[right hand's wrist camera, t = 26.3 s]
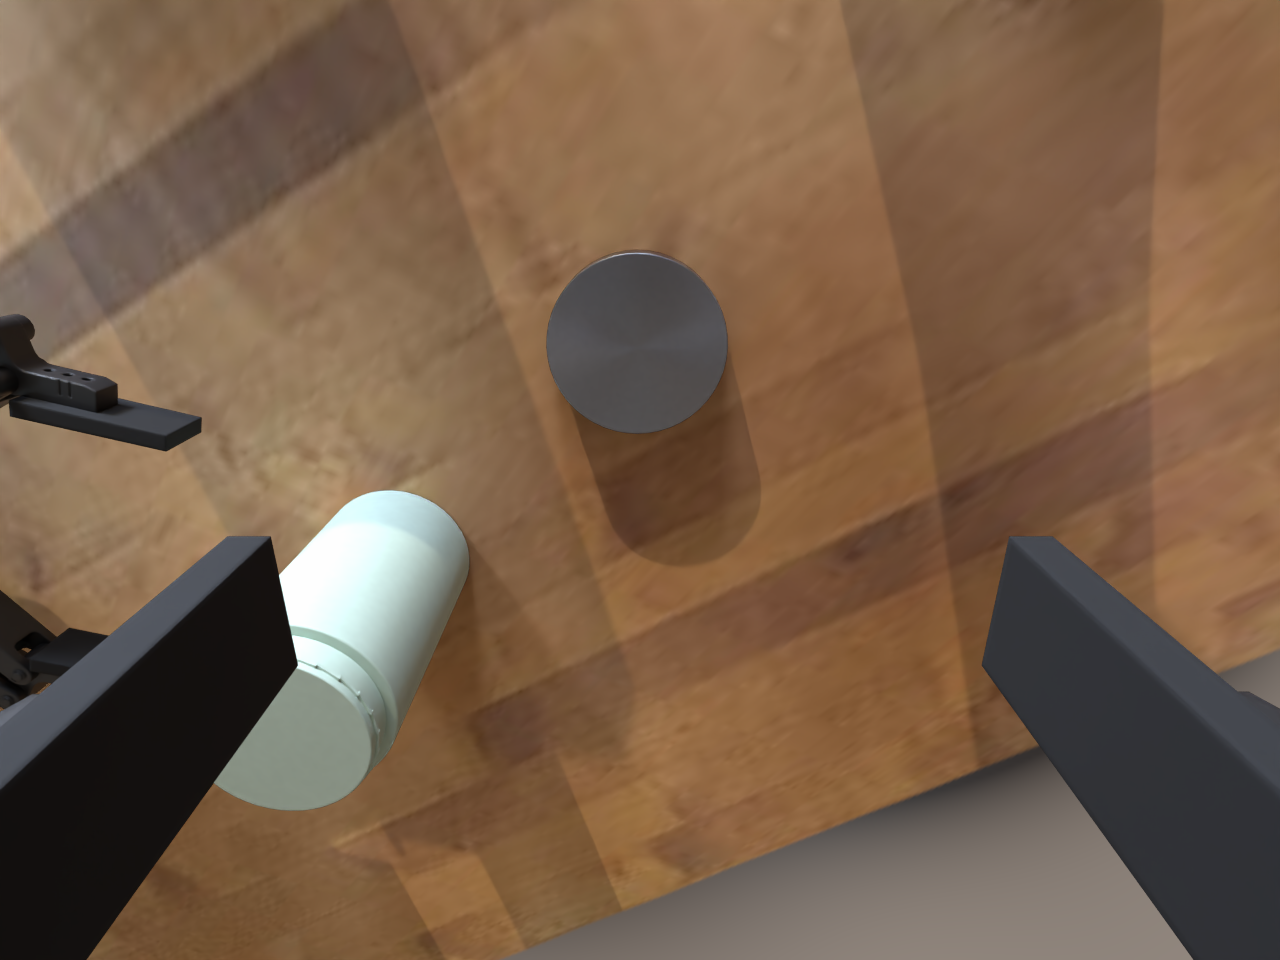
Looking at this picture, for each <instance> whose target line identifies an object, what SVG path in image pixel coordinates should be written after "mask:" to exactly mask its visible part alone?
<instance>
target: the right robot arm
mask: <svg viewBox="0 0 1280 960" xmlns="http://www.w3.org/2000/svg"><path fill="white" fill-rule="evenodd" d="M297 667H298V661H297V657H296V652H295V648H294V643H293V638H292V634H291V629H290V624H289V620H288V615H287V610H286V606H285V601H284V596H283V592H282V587H281V582H280V578H279V573H278V568H277V564H276V559H275V554H274V550H273V545H272V540H271V536H228V537H226V538H225V539H224V540H223V541H222V542H220V543H219V544H218V545H217V546H216V547H214V548H213V549H212V550H211V551H210V552H208V553H207V554H206V555H205V556H204V557H202V558H201V559H200V560H199V561H198V562H197V563H195V564H194V565H193V566H192V567H191V568H189V569H188V570H187V571H186V572H185V573H183V574H182V575H181V576H180V577H179V578H177V579H176V580H175V581H174V582H173V583H171V584H170V585H169V586H168V587H167V588H166V589H164V590H163V591H162V592H161V593H160V594H158V595H157V596H156V597H155V598H154V599H152V600H151V601H150V602H149V603H148V604H146V605H145V606H144V607H143V608H142V609H140V610H139V611H138V612H137V613H136V614H135V615H133V616H132V617H131V618H130V619H129V620H127V621H126V622H125V623H124V624H123V625H121V626H120V627H119V628H118V629H117V630H115V631H114V632H113V633H112V634H111V635H109V636H108V637H107V638H106V639H105V640H103V641H102V642H101V643H100V644H99V645H98V646H96V647H95V648H94V649H93V650H92V651H90V652H89V653H88V654H87V655H86V656H84V657H83V658H82V659H81V660H80V661H78V662H77V663H76V664H75V665H74V666H72V667H71V668H70V669H69V670H68V671H67V672H65V673H64V674H63V675H62V676H61V677H59V678H58V679H57V680H56V681H55V682H53V683H52V684H51V685H50V686H49V687H47V688H46V689H45V690H44V691H43V692H41V693H40V694H32V695H30V696H28V697H26V698H24V699H23V700H21V701H19V702H17V703H15V704H14V705H12V706H10V707H8V708H6V709H4V710H3V711H1V712H0V960H87V958H88V957H89V955H90V954H91V953H92V951H93V950H94V949H95V947H96V946H97V944H98V943H99V942H100V940H101V939H102V937H103V936H104V935H105V933H106V932H107V930H108V929H109V928H110V926H111V925H112V924H113V922H114V921H115V919H116V918H117V917H118V915H119V914H120V912H121V911H122V910H123V908H124V907H125V905H126V904H127V903H128V901H129V900H130V899H131V897H132V896H133V894H134V893H135V892H136V890H137V889H138V887H139V886H140V885H141V883H142V882H143V880H144V879H145V878H146V876H147V875H148V874H149V872H150V871H151V869H152V868H153V867H154V865H155V864H156V862H157V861H158V860H159V858H160V857H161V855H162V854H163V853H164V851H165V850H166V849H167V847H168V846H169V844H170V843H171V842H172V840H173V839H174V837H175V836H176V835H177V833H178V832H179V830H180V829H181V828H182V826H183V825H184V824H185V822H186V821H187V819H188V818H189V817H190V815H191V814H192V812H193V811H194V810H195V808H196V807H197V805H198V804H199V803H200V801H201V800H202V798H203V797H204V796H205V794H206V793H207V792H208V790H209V789H210V787H211V786H212V785H213V783H214V782H215V780H216V779H217V778H218V776H219V775H220V773H221V772H222V771H223V769H224V768H225V767H226V765H227V764H228V762H229V761H230V760H231V758H232V757H233V755H234V754H235V753H236V751H237V750H238V748H239V747H240V746H241V744H242V743H243V742H244V740H245V739H246V737H247V736H248V735H249V733H250V732H251V730H252V729H253V728H254V726H255V725H256V723H257V722H258V721H259V719H260V718H261V717H262V715H263V714H264V712H265V711H266V710H267V708H268V707H269V705H270V704H271V703H272V701H273V700H274V698H275V697H276V696H277V694H278V693H279V692H280V690H281V689H282V687H283V686H284V685H285V683H286V682H287V680H288V679H289V678H290V676H291V675H292V673H293V672H294V671H295V669H296V668H297ZM982 667H983V668H984V669H985V671H986V672H987V673H988V675H989V676H990V678H991V679H992V680H993V682H994V683H995V685H996V686H997V687H998V689H999V690H1000V692H1001V693H1002V694H1003V696H1004V697H1005V698H1006V700H1007V701H1008V703H1009V704H1010V705H1011V707H1012V708H1013V710H1014V711H1015V712H1016V714H1017V715H1018V717H1019V718H1020V719H1021V721H1022V722H1023V723H1024V725H1025V726H1026V728H1027V729H1028V730H1029V732H1030V733H1031V735H1032V736H1033V737H1034V739H1035V740H1036V742H1037V743H1038V744H1039V746H1040V747H1041V748H1042V750H1043V751H1044V753H1045V754H1046V755H1047V757H1048V758H1049V760H1050V761H1051V762H1052V764H1053V765H1054V767H1055V768H1056V769H1057V771H1058V772H1059V773H1060V775H1061V776H1062V778H1063V779H1064V780H1065V782H1066V783H1067V785H1068V786H1069V787H1070V789H1071V790H1072V792H1073V793H1074V794H1075V796H1076V797H1077V798H1078V800H1079V801H1080V803H1081V804H1082V805H1083V807H1084V808H1085V810H1086V811H1087V812H1088V814H1089V815H1090V817H1091V818H1092V819H1093V821H1094V822H1095V823H1096V825H1097V826H1098V828H1099V829H1100V830H1101V832H1102V833H1103V835H1104V836H1105V837H1106V839H1107V840H1108V842H1109V843H1110V844H1111V846H1112V847H1113V849H1114V850H1115V851H1116V853H1117V854H1118V855H1119V857H1120V858H1121V860H1122V861H1123V862H1124V864H1125V865H1126V867H1127V868H1128V869H1129V871H1130V872H1131V874H1132V875H1133V876H1134V878H1135V879H1136V880H1137V882H1138V883H1139V885H1140V886H1141V887H1142V889H1143V890H1144V892H1145V893H1146V894H1147V896H1148V897H1149V898H1150V900H1151V901H1152V903H1153V904H1154V905H1155V907H1156V908H1157V910H1158V911H1159V912H1160V914H1161V915H1162V917H1163V918H1164V919H1165V921H1166V922H1167V924H1168V925H1169V926H1170V928H1171V929H1172V930H1173V932H1174V933H1175V935H1176V936H1177V937H1178V939H1179V940H1180V942H1181V943H1182V944H1183V946H1184V947H1185V948H1186V950H1187V951H1188V953H1189V954H1190V955H1191V957H1192V958H1193V960H1280V709H1279V708H1278V707H1276V706H1274V705H1272V704H1270V703H1268V702H1267V701H1265V700H1263V699H1261V698H1259V697H1257V696H1255V695H1254V694H1252V693H1250V692H1237V691H1236V690H1235V689H1234V688H1233V687H1231V686H1230V685H1229V684H1228V683H1227V682H1225V681H1224V680H1223V679H1222V678H1221V677H1219V676H1218V675H1217V674H1216V673H1215V672H1213V671H1212V670H1211V669H1210V668H1209V667H1208V666H1206V665H1205V664H1204V663H1203V662H1202V661H1200V660H1199V659H1198V658H1197V657H1196V656H1194V655H1193V654H1192V653H1191V652H1190V651H1188V650H1187V649H1186V648H1185V647H1184V646H1182V645H1181V644H1180V643H1179V642H1178V641H1177V640H1175V639H1174V638H1173V637H1172V636H1171V635H1169V634H1168V633H1167V632H1166V631H1165V630H1163V629H1162V628H1161V627H1160V626H1159V625H1157V624H1156V623H1155V622H1154V621H1153V620H1151V619H1150V618H1149V617H1148V616H1147V615H1145V614H1144V613H1143V612H1142V611H1141V610H1140V609H1138V608H1137V607H1136V606H1135V605H1134V604H1132V603H1131V602H1130V601H1129V600H1128V599H1126V598H1125V597H1124V596H1123V595H1122V594H1120V593H1119V592H1118V591H1117V590H1116V589H1114V588H1113V587H1112V586H1111V585H1110V584H1109V583H1107V582H1106V581H1105V580H1104V579H1103V578H1101V577H1100V576H1099V575H1098V574H1097V573H1095V572H1094V571H1093V570H1092V569H1091V568H1089V567H1088V566H1087V565H1086V564H1085V563H1083V562H1082V561H1081V560H1080V559H1079V558H1078V557H1076V556H1075V555H1074V554H1073V553H1072V552H1070V551H1069V550H1068V549H1067V548H1066V547H1064V546H1063V545H1062V544H1061V543H1060V542H1058V541H1057V540H1056V539H1055V538H1054V537H1052V536H1009V540H1008V545H1007V550H1006V554H1005V559H1004V564H1003V568H1002V573H1001V578H1000V582H999V587H998V592H997V596H996V601H995V606H994V610H993V615H992V620H991V624H990V629H989V634H988V638H987V643H986V648H985V652H984V657H983V661H982Z"/></svg>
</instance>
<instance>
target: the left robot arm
mask: <svg viewBox="0 0 1280 960" xmlns="http://www.w3.org/2000/svg"><path fill="white" fill-rule="evenodd" d="M34 334H35V329H34V326H33V324H32V323H31V321H30V320H29V319H28V318H26V317H25V316H23V315H20V314H13V315H7V316H2V317H0V408H1V407H3V406H5V405H7V404H8V403H9V409H10V416H11V417H15V418H19V419H24V420H28V421H33V422H37V423H42V424H46V425H51V426H55V427H59V428H64V429H68V430H73V431H77V432H82V433H86V434H91V435H95V436H100V437H104V438H108V439H113V440H117V441H122V442H126V443H131V444H135V445H140V446H144V447H148V448H153V449H157V450H162V451H168V450H170V449H172V448H173V447H175V446H177V445H179V444H181V443H183V442H184V441H186V440H188V439H190V438H192V437H193V436H195V435H197V434H199V433H201V422H202V417H198V416H193V415H189V414H185V413H180V412H176V411H172V410H167V409H163V408H158V407H154V406H150V405H145V404H141V403H137V402H132V401H128V400H124V399H119V398H118V385H117V384H116V383H115V382H113V381H111V380H110V379H108V378H106V377H103V376H98V375H94V374H90V373H86V372H81V371H77V370H73V369H68V368H64V367H60V366H55V365H51V364H48V363H47V362H46V361H45V360H43V359H41V358H39V357H38V355H37V354H36V353H35V351H34V349H33V347H32V344H31V342H30V339H32V338H33V336H34ZM107 637H108V636H107V635H102V634H97V633H92V632H87V631H82V630H77V629H72V628H69V629H67V630H66V631H65V632H63V633H62V634H61V635H59V636H58V637H56V636H55V635H54V634H52V633H51V632H50V631H49V630H48V629H46V628H45V627H44V626H43V625H42V624H40V623H39V622H38V621H37V620H36V619H34V618H33V617H32V616H31V615H30V614H28V613H27V612H26V611H25V610H24V609H22V608H21V607H20V606H19V605H18V604H16V603H15V602H14V601H13V600H12V599H10V598H9V597H8V596H7V595H6V594H4V593H3V592H2V591H1V590H0V707H1V708H3V709H6V708H8V707H10V706H12V705H14V704H15V703H17V702H19V701H21V700H23V699H24V698H26V697H28V696H30V695H32V694H36V693H37V692H38V691H40V690H41V689H42V688H43V687H44V686H46V685H47V684H48V683H51V684H52V683H53V682H55V681H56V680H57V679H58V678H59V677H61V676H62V675H63V674H64V673H65V672H67V671H68V670H69V669H70V668H71V667H72V666H74V665H75V664H76V663H77V662H78V661H80V660H81V659H82V658H83V657H84V656H86V655H87V654H88V653H89V652H90V651H92V650H93V649H94V648H95V647H96V646H98V645H99V644H100V643H101V642H102V641H103V640H105V639H106V638H107ZM23 648H29V649H31V651H30V652H28V653H27V652H25V651H23V650H21V649H23Z"/></svg>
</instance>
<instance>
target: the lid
mask: <svg viewBox="0 0 1280 960" xmlns="http://www.w3.org/2000/svg"><path fill="white" fill-rule="evenodd" d="M727 350H728V336H727V329H726V323H725V320H724V316H723V313H722V310H721V308H720V306H719V304H718V301H717V300H716V298H715V296H714V295H713V293H712V292H711V290H710V289H709V287H708V286H707V285H706V283H705V282H704V281H703V280H702V279H701V277H700V276H699V275H698V274H696V273H695V272H694V271H693V270H692V269H691V268H690V267H688V266H687V265H685V264H684V263H682V262H681V261H679V260H677V259H675V258H673V257H671V256H668V255H665V254H662V253H659V252H654V251H649V250H625V251H620V252H616V253H612V254H609V255H606V256H604V257H601V258H599V259H598V260H596V261H594V262H592V263H590V264H589V265H588V266H586V267H585V268H583V269H582V270H581V271H580V272H579V273H578V274H577V275H576V276H575V277H574V278H573V279H572V280H571V281H570V283H569V284H568V285H567V286H566V288H565V289H564V290H563V292H562V293H561V295H560V297H559V298H558V300H557V302H556V304H555V306H554V309H553V311H552V313H551V317H550V320H549V324H548V331H547V356H548V362H549V366H550V370H551V373H552V375H553V378H554V380H555V382H556V384H557V386H558V388H559V390H560V391H561V393H562V394H563V396H564V397H565V398H566V400H567V401H568V402H569V403H570V404H571V405H572V406H573V407H574V408H575V409H576V410H577V411H578V412H579V413H580V414H582V415H583V416H584V417H586V418H587V419H589V420H590V421H592V422H594V423H596V424H598V425H600V426H602V427H604V428H607V429H611V430H614V431H618V432H623V433H634V434H640V433H651V432H656V431H661V430H664V429H667V428H670V427H672V426H675V425H677V424H679V423H681V422H683V421H684V420H686V419H687V418H689V417H690V416H692V415H693V414H694V413H695V412H696V411H698V410H699V409H700V408H701V407H702V406H703V405H704V404H705V403H706V402H707V400H708V399H709V398H710V396H711V395H712V393H713V392H714V390H715V389H716V387H717V385H718V383H719V381H720V379H721V376H722V373H723V371H724V367H725V363H726V359H727Z"/></svg>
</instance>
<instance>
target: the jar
mask: <svg viewBox="0 0 1280 960" xmlns="http://www.w3.org/2000/svg"><path fill="white" fill-rule="evenodd" d="M468 571H469V552H468V547H467V544H466V540H465V538H464V536H463V534H462V532H461V530H460V529H459V527H458V525H457V524H456V523H455V522H454V520H453V519H452V518H451V517H450V516H449V515H448V514H447V513H446V512H445V511H444V510H443V509H441V508H440V507H439V506H437V505H436V504H434V503H432V502H431V501H429V500H427V499H425V498H422V497H420V496H417V495H414V494H411V493H407V492H402V491H378V492H372V493H368V494H365V495H362V496H360V497H358V498H356V499H354V500H352V501H351V502H349V503H348V504H346V505H345V506H344V507H343V508H342V509H341V510H340V511H339V512H338V513H337V514H336V515H335V516H334V517H333V518H332V520H331V521H330V522H329V523H328V524H327V525H326V526H325V527H324V528H323V529H322V530H321V531H320V532H319V533H318V534H317V536H316V537H315V538H314V539H313V540H312V541H311V542H310V543H309V544H308V545H307V546H306V547H305V548H304V549H303V550H302V552H301V553H300V554H299V555H298V556H297V557H296V558H295V559H294V560H293V561H292V562H291V563H290V564H289V565H288V566H287V567H286V569H285V570H284V571H283V572H282V573H281V574H280V575H279V578H280V582H281V587H282V592H283V596H284V601H285V606H286V610H287V615H288V620H289V624H290V629H291V634H292V638H293V643H294V648H295V652H296V657H297V661H298V667H297V668H296V669H295V671H294V672H293V673H292V675H291V676H290V678H289V679H288V680H287V682H286V683H285V685H284V686H283V687H282V689H281V690H280V692H279V693H278V694H277V696H276V697H275V698H274V700H273V701H272V703H271V704H270V705H269V707H268V708H267V710H266V711H265V712H264V714H263V715H262V717H261V718H260V719H259V721H258V722H257V723H256V725H255V726H254V728H253V729H252V730H251V732H250V733H249V735H248V736H247V737H246V739H245V740H244V742H243V743H242V744H241V746H240V747H239V748H238V750H237V751H236V753H235V754H234V755H233V757H232V758H231V760H230V761H229V762H228V764H227V765H226V767H225V768H224V769H223V771H222V772H221V773H220V775H219V776H218V778H217V779H216V780H215V782H214V784H216V785H217V786H218V787H220V788H221V789H223V790H224V791H226V792H228V793H229V794H231V795H233V796H235V797H237V798H239V799H241V800H243V801H246V802H249V803H251V804H254V805H257V806H261V807H265V808H270V809H276V810H286V811H302V810H310V809H316V808H320V807H324V806H327V805H330V804H332V803H335V802H337V801H339V800H341V799H342V798H344V797H346V796H347V795H348V794H350V793H351V792H352V791H354V790H355V789H356V788H357V787H358V785H359V784H360V783H361V782H362V781H363V780H364V778H365V777H366V776H367V775H368V774H369V772H370V771H371V770H372V769H373V767H375V766H376V765H377V764H378V763H379V762H380V761H381V760H382V759H383V758H384V757H385V756H386V754H387V753H388V752H389V750H390V749H391V747H392V745H393V743H394V741H395V738H396V736H397V734H398V732H399V729H400V727H401V725H402V723H403V721H404V718H405V716H406V714H407V712H408V709H409V707H410V705H411V703H412V700H413V698H414V696H415V694H416V691H417V689H418V687H419V685H420V682H421V680H422V678H423V676H424V673H425V671H426V669H427V667H428V665H429V662H430V660H431V658H432V656H433V653H434V651H435V649H436V647H437V644H438V642H439V640H440V638H441V635H442V633H443V631H444V629H445V626H446V624H447V622H448V620H449V617H450V615H451V613H452V611H453V609H454V606H455V604H456V602H457V600H458V597H459V595H460V593H461V591H462V588H463V586H464V584H465V582H466V579H467V576H468Z"/></svg>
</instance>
